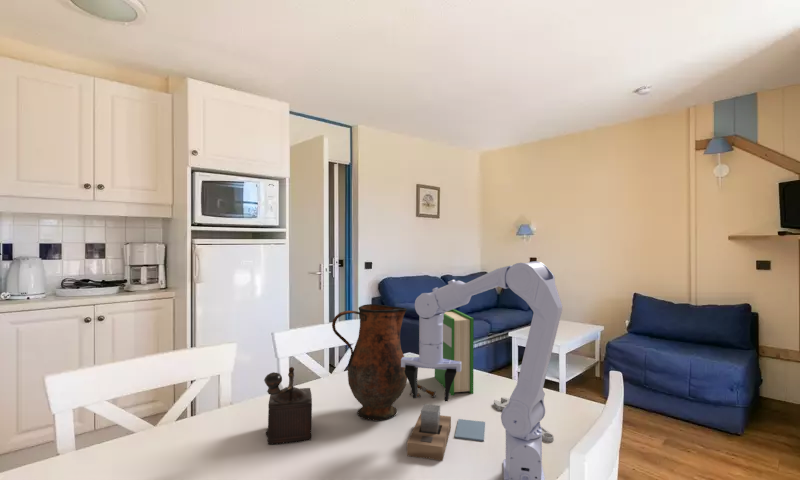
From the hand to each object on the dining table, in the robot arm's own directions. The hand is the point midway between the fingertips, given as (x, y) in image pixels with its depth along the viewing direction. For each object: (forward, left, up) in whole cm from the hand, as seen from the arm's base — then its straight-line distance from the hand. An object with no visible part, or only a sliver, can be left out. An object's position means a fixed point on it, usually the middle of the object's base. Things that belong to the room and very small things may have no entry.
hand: (430, 398), depth 97 cm
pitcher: (+11, +19, -10) cm, 24 cm away
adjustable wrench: (+18, -22, -11) cm, 30 cm away
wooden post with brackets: (+27, +7, -11) cm, 30 cm away
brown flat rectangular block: (0, 0, -10) cm, 10 cm away
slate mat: (+8, -9, -10) cm, 16 cm away
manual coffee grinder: (-7, +34, -11) cm, 36 cm away
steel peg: (0, 0, -10) cm, 10 cm away
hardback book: (+40, -1, -10) cm, 41 cm away
